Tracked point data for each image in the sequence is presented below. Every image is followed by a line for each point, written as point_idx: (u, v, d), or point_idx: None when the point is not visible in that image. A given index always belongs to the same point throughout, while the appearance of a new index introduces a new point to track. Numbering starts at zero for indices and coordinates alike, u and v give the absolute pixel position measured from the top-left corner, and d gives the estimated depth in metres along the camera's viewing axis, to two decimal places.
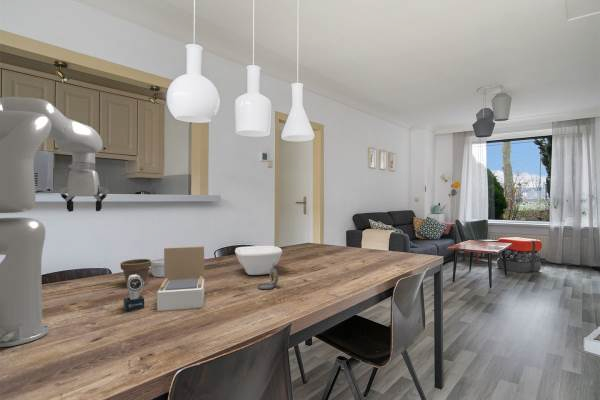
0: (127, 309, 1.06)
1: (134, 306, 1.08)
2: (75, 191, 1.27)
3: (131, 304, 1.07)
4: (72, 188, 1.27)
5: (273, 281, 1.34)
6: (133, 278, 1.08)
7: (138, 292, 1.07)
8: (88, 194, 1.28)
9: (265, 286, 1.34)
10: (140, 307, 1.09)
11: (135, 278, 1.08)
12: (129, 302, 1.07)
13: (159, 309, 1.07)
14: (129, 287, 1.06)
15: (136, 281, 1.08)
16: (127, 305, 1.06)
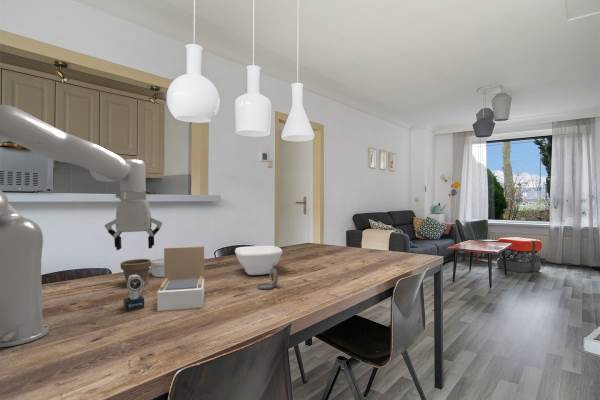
0: (127, 309, 1.06)
1: (134, 306, 1.08)
2: (125, 226, 1.06)
3: (131, 304, 1.07)
4: (121, 222, 1.06)
5: (273, 281, 1.34)
6: (133, 278, 1.08)
7: (138, 292, 1.07)
8: (140, 229, 1.07)
9: (265, 286, 1.34)
10: (140, 307, 1.09)
11: (135, 278, 1.08)
12: (129, 302, 1.07)
13: (159, 309, 1.07)
14: (129, 287, 1.06)
15: (136, 281, 1.08)
16: (127, 305, 1.06)
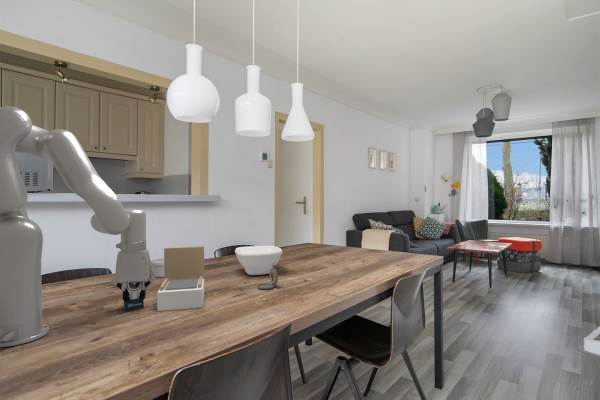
0: (126, 309, 1.07)
1: (133, 306, 1.08)
2: (124, 277, 1.06)
3: (130, 304, 1.07)
4: (121, 273, 1.06)
5: (273, 281, 1.34)
6: None
7: (137, 292, 1.07)
8: (139, 279, 1.07)
9: (265, 286, 1.34)
10: (139, 307, 1.09)
11: None
12: (128, 302, 1.07)
13: (159, 309, 1.07)
14: (128, 287, 1.06)
15: None
16: (126, 305, 1.07)
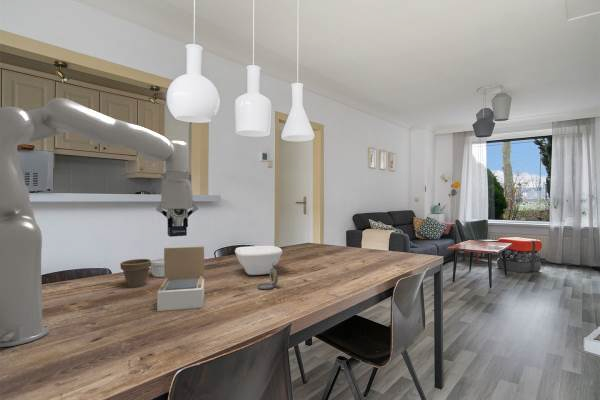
0: (171, 234, 1.12)
1: (177, 233, 1.13)
2: (170, 204, 1.12)
3: (174, 231, 1.13)
4: (166, 200, 1.11)
5: (273, 281, 1.34)
6: None
7: (181, 219, 1.12)
8: (184, 207, 1.13)
9: (265, 286, 1.34)
10: (183, 234, 1.14)
11: None
12: (173, 228, 1.13)
13: (159, 309, 1.07)
14: (173, 213, 1.11)
15: None
16: (171, 231, 1.12)
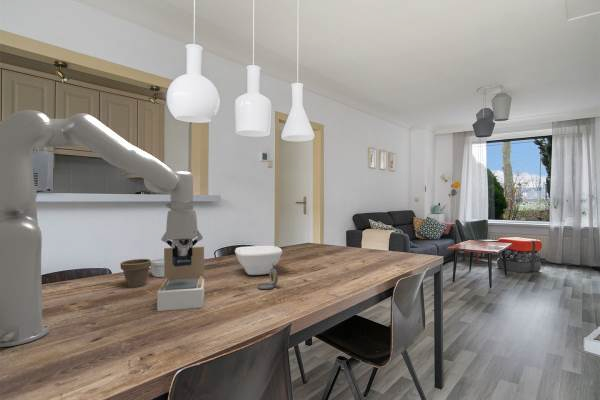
0: (176, 264, 1.13)
1: (182, 262, 1.14)
2: (175, 234, 1.12)
3: (179, 260, 1.14)
4: (171, 231, 1.12)
5: (273, 281, 1.34)
6: None
7: (186, 249, 1.13)
8: (188, 237, 1.14)
9: (265, 286, 1.34)
10: (187, 263, 1.15)
11: None
12: (178, 258, 1.13)
13: (159, 309, 1.07)
14: (178, 243, 1.12)
15: None
16: (176, 261, 1.13)
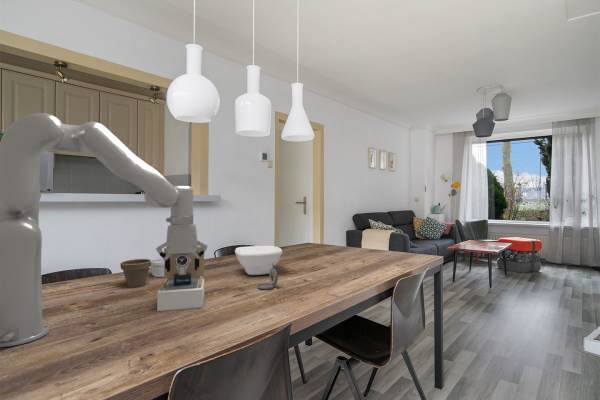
0: (175, 284, 1.13)
1: (181, 282, 1.13)
2: (175, 249, 1.13)
3: (178, 280, 1.13)
4: (171, 245, 1.12)
5: (273, 281, 1.34)
6: (181, 255, 1.13)
7: (184, 268, 1.12)
8: (188, 251, 1.14)
9: (265, 286, 1.34)
10: (187, 283, 1.14)
11: (182, 255, 1.13)
12: (177, 277, 1.13)
13: (159, 309, 1.07)
14: (176, 263, 1.11)
15: (183, 258, 1.13)
16: (175, 280, 1.13)
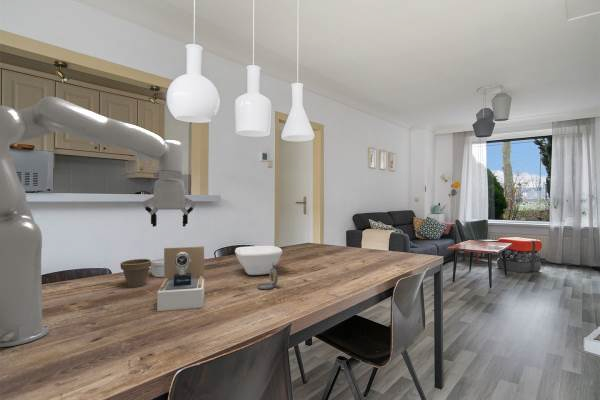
0: (175, 284, 1.13)
1: (181, 282, 1.13)
2: (162, 203, 1.10)
3: (178, 280, 1.13)
4: (158, 200, 1.10)
5: (273, 281, 1.34)
6: (181, 255, 1.13)
7: (184, 268, 1.12)
8: (176, 207, 1.11)
9: (265, 286, 1.34)
10: (187, 283, 1.14)
11: (182, 255, 1.13)
12: (177, 277, 1.13)
13: (159, 309, 1.07)
14: (176, 263, 1.11)
15: (183, 258, 1.13)
16: (175, 280, 1.13)
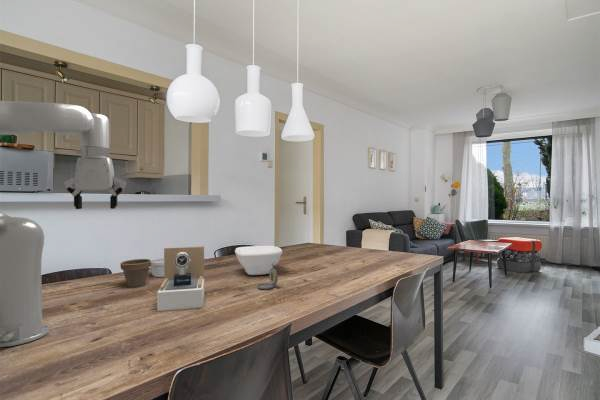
0: (175, 284, 1.13)
1: (181, 282, 1.13)
2: (85, 183, 1.00)
3: (178, 280, 1.13)
4: (81, 179, 1.00)
5: (273, 281, 1.34)
6: (181, 255, 1.13)
7: (184, 268, 1.12)
8: (101, 187, 1.01)
9: (265, 286, 1.34)
10: (187, 283, 1.14)
11: (182, 255, 1.13)
12: (177, 277, 1.13)
13: (159, 309, 1.07)
14: (176, 263, 1.11)
15: (183, 258, 1.13)
16: (175, 280, 1.13)
